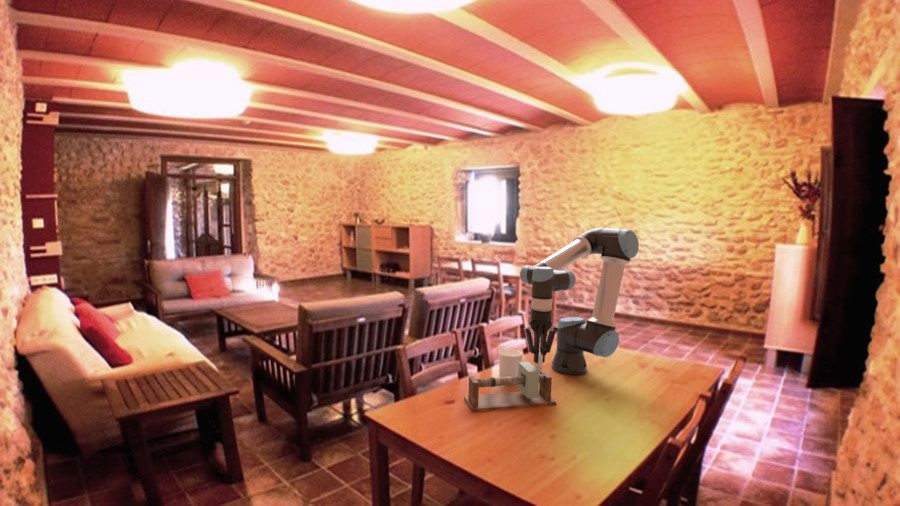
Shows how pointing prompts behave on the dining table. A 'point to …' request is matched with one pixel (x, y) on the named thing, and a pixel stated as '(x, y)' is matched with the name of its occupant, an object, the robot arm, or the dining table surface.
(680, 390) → the dining table surface
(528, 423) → the dining table surface
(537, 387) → the collar
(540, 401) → the dowel stand
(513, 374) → the candle holder
